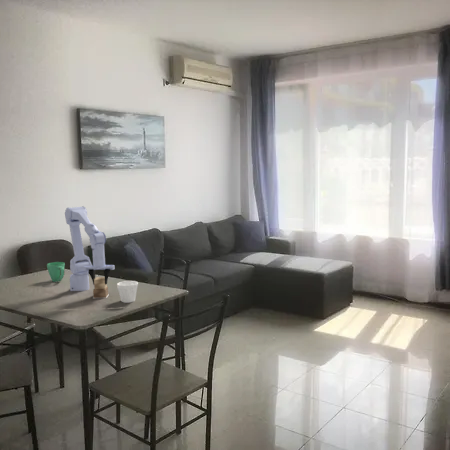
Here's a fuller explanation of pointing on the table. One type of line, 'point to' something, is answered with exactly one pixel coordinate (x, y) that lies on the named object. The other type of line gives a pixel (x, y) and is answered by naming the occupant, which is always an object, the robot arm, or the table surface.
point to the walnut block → (100, 293)
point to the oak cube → (99, 283)
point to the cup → (127, 290)
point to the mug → (56, 270)
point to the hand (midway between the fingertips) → (100, 284)
